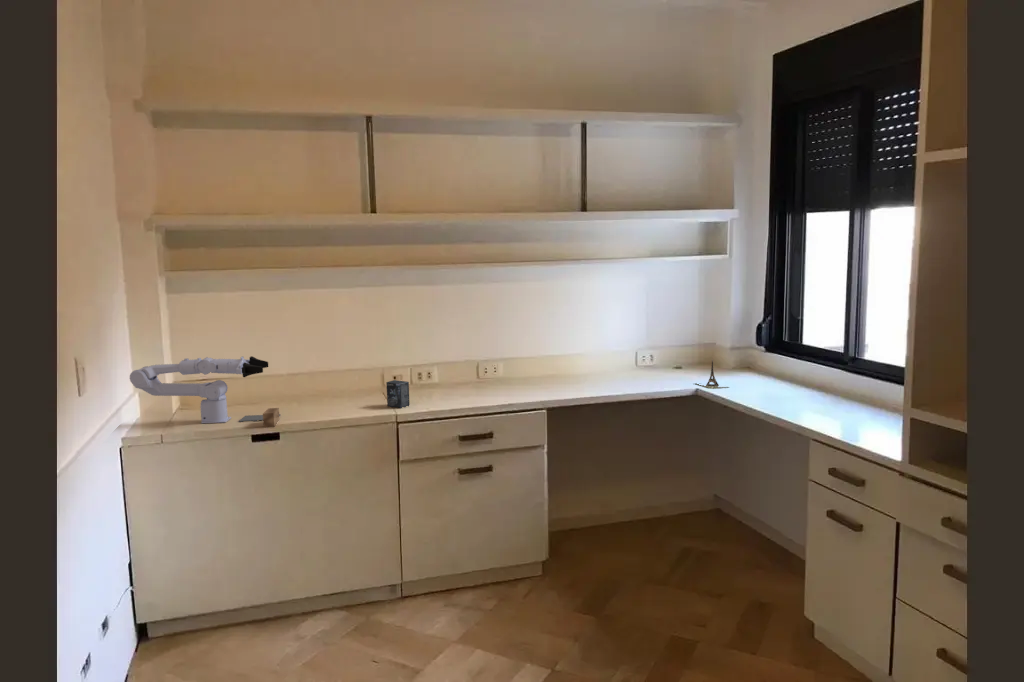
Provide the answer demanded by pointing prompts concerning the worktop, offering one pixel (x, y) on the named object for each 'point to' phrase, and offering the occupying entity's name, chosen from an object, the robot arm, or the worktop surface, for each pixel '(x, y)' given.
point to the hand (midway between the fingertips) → (265, 367)
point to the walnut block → (271, 417)
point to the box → (397, 393)
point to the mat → (252, 418)
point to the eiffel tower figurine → (715, 385)
